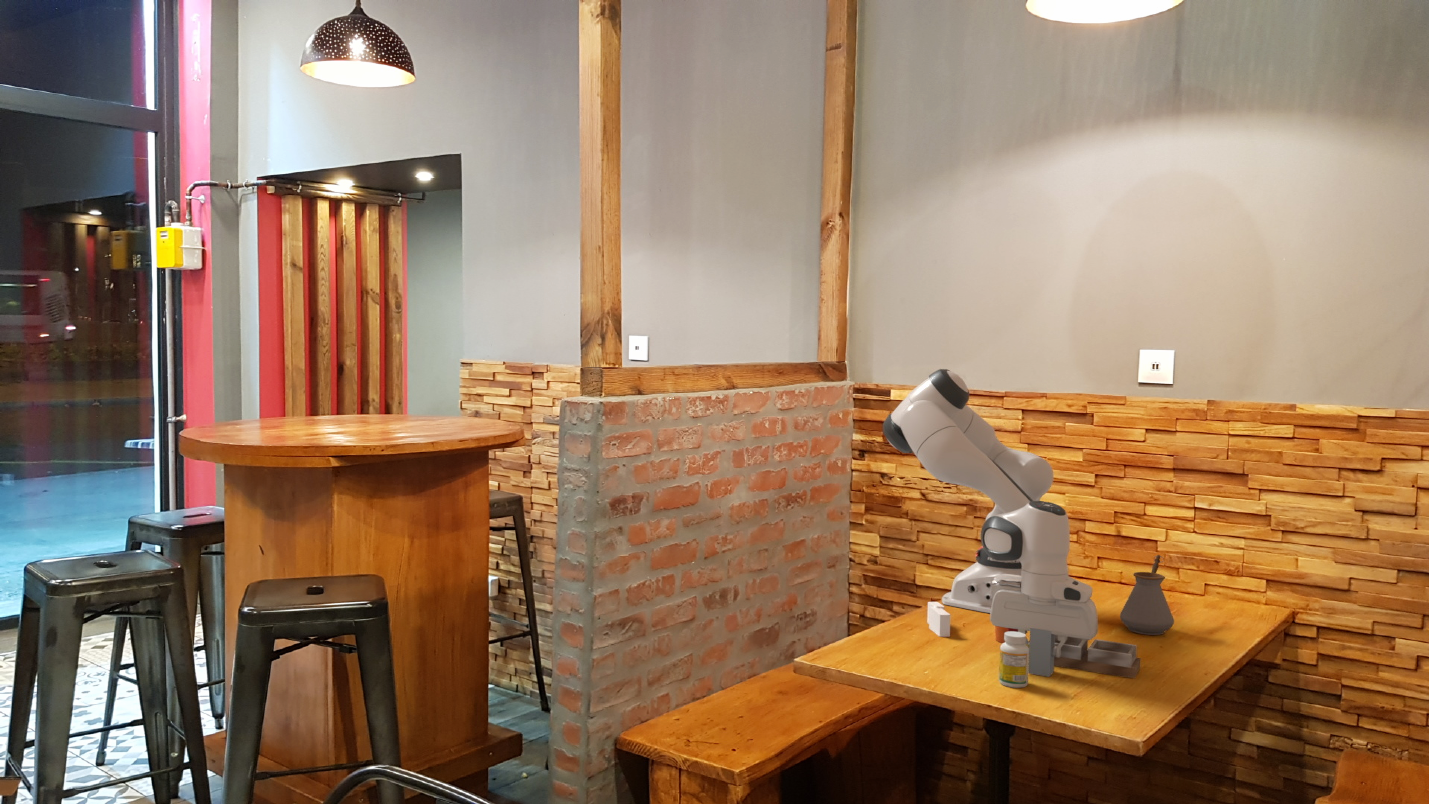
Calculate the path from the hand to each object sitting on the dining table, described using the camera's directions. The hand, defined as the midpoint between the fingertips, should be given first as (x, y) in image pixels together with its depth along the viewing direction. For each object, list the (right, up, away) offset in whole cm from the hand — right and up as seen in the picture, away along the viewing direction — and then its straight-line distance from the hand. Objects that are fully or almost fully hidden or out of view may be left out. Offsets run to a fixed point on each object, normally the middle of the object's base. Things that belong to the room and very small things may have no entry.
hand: (1041, 654), depth 207 cm
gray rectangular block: (0, -4, 0) cm, 4 cm away
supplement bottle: (-8, -4, -7) cm, 11 cm away
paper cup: (0, -3, +22) cm, 22 cm away
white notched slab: (-13, -2, +31) cm, 34 cm away
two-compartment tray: (+11, -4, +5) cm, 13 cm away
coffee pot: (+37, -2, +37) cm, 52 cm away
